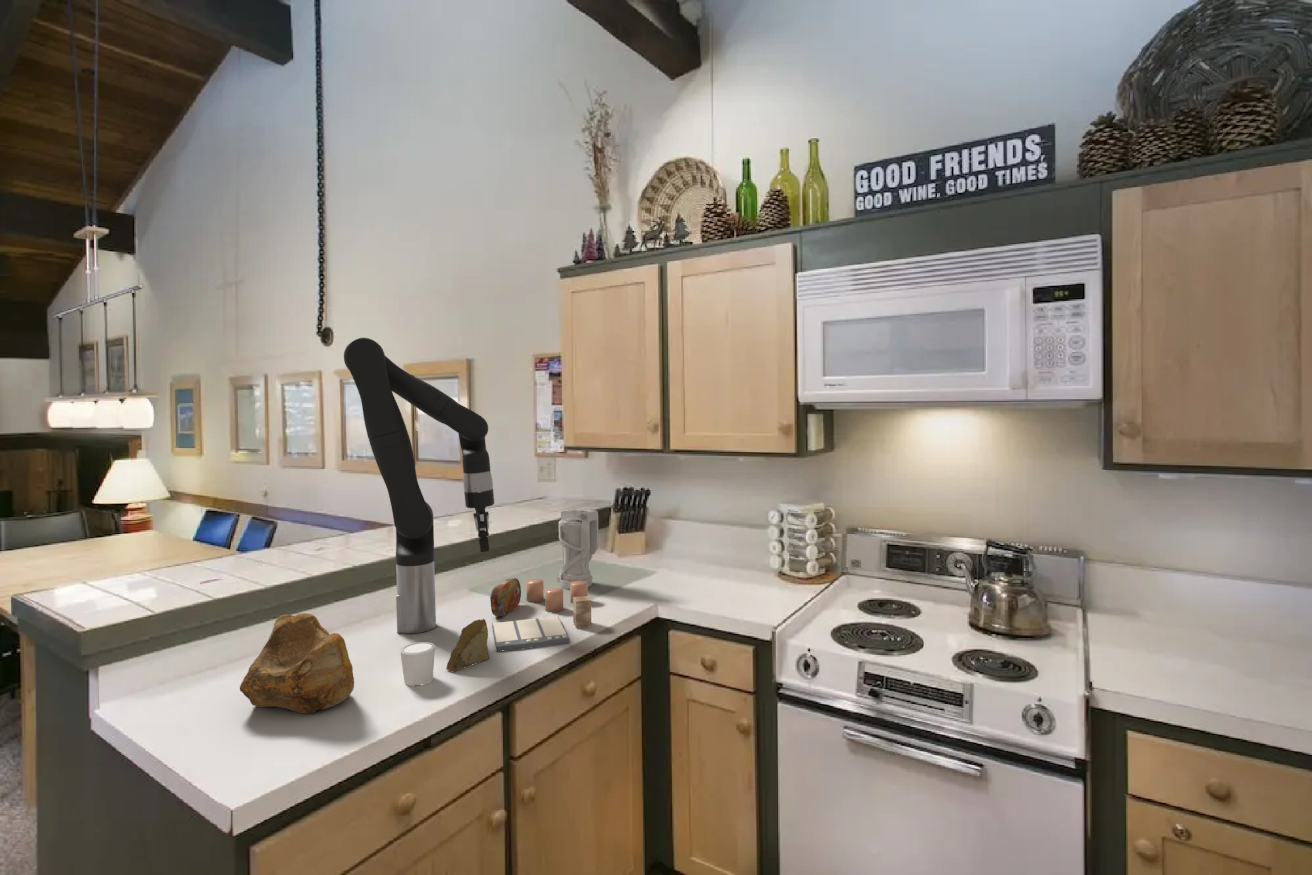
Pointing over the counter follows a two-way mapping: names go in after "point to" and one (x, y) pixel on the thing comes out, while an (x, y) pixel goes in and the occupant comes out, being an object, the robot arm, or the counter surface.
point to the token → (582, 611)
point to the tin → (505, 597)
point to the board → (529, 633)
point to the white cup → (418, 663)
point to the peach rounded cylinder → (535, 590)
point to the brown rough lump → (300, 667)
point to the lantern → (577, 544)
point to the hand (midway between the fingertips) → (484, 548)
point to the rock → (470, 646)
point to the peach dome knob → (554, 600)
